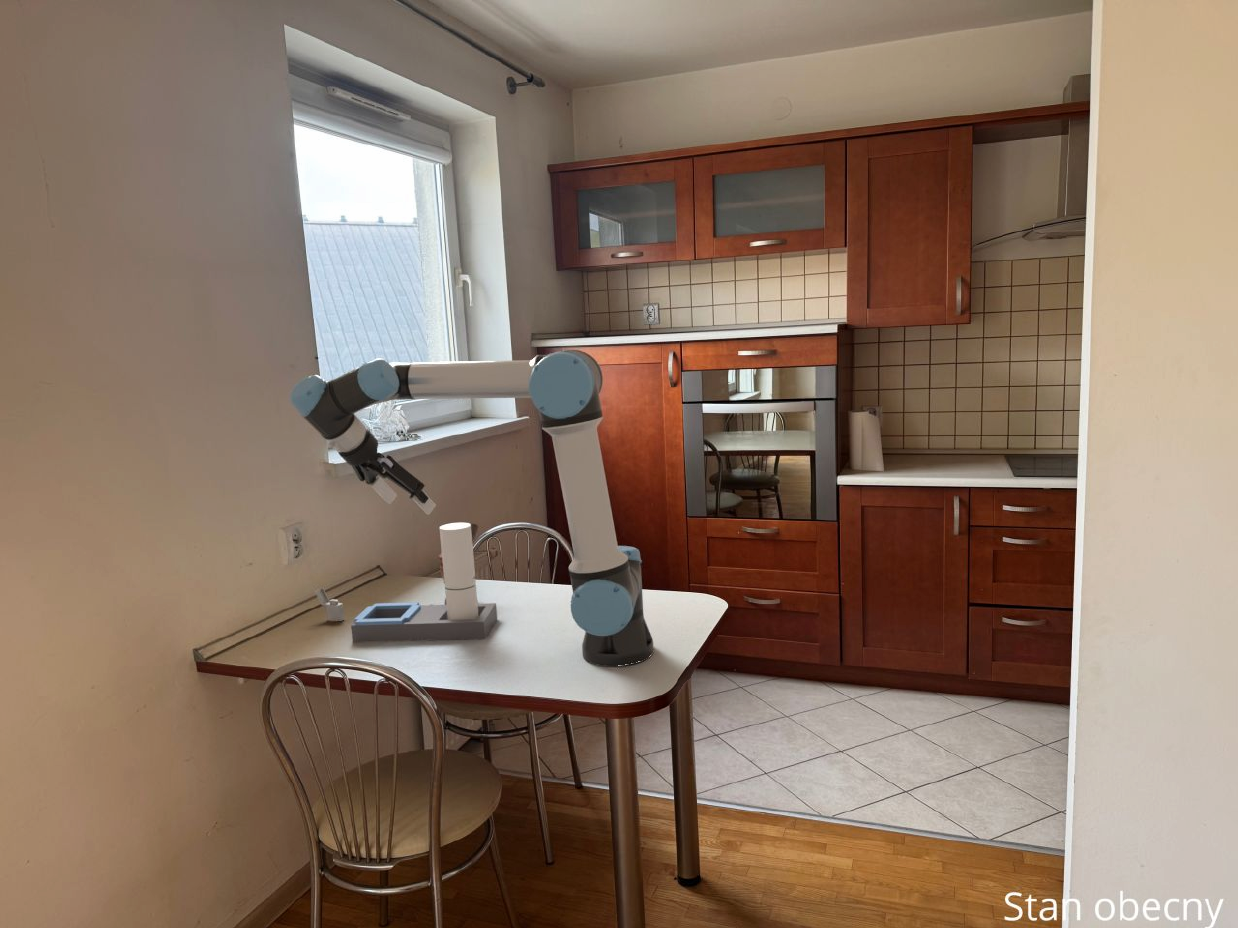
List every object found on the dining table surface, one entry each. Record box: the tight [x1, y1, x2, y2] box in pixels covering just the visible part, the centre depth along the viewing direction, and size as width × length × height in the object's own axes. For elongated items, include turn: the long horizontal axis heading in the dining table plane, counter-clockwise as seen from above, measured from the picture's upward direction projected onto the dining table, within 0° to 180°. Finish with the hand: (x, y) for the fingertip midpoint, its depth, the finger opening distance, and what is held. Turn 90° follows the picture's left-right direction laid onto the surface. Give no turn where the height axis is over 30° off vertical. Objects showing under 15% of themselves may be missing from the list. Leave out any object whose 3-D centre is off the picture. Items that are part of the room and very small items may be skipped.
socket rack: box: [350, 601, 498, 643], centre depth 200 cm, size 31×13×5 cm, turn 86°
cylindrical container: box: [439, 522, 479, 620], centre depth 197 cm, size 7×7×25 cm
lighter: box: [314, 587, 345, 622], centre depth 211 cm, size 7×2×8 cm, turn 66°
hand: (411, 504), depth 184 cm, fingers open, 13 cm apart
